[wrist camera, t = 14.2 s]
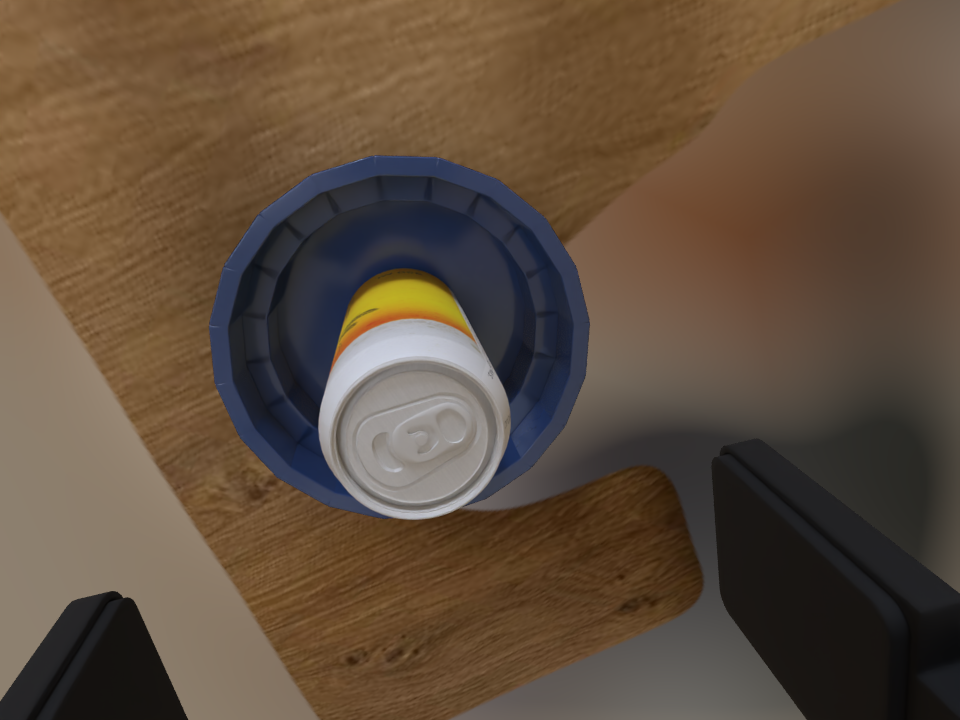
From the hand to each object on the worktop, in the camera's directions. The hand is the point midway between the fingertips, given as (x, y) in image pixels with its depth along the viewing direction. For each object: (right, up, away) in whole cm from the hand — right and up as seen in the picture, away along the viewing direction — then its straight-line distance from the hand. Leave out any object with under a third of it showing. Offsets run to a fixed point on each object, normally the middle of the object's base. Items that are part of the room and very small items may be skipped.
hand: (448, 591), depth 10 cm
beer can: (-3, +6, +23) cm, 24 cm away
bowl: (-4, +6, +24) cm, 25 cm away
